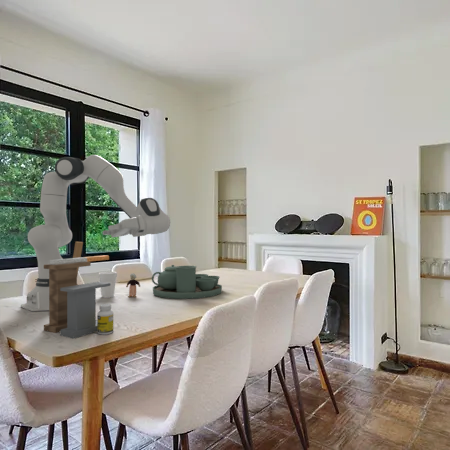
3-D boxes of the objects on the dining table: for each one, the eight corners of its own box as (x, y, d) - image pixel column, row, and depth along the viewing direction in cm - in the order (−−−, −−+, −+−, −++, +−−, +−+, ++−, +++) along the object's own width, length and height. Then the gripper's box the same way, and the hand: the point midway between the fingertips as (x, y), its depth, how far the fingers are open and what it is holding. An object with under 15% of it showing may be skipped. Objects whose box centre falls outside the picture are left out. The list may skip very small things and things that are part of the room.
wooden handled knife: (49, 264, 131) (49, 260, 131) (103, 259, 152) (103, 255, 152) (54, 264, 129) (54, 260, 129) (108, 259, 151) (108, 255, 151)
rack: (60, 335, 124) (60, 287, 124) (97, 324, 138) (97, 281, 138) (73, 338, 121) (73, 289, 121) (110, 326, 135) (110, 283, 135)
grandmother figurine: (125, 297, 191) (125, 274, 191) (126, 296, 195) (126, 273, 195) (140, 297, 193) (140, 273, 193) (140, 295, 197) (140, 272, 197)
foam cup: (117, 297, 192) (117, 273, 192) (98, 298, 189) (98, 274, 189) (116, 294, 201) (116, 271, 201) (98, 295, 198) (98, 272, 198)
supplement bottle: (94, 334, 126) (93, 306, 126) (104, 329, 131) (104, 303, 131) (106, 335, 124) (106, 307, 124) (116, 331, 129) (116, 304, 129)
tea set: (235, 294, 201) (235, 264, 202) (171, 302, 179) (170, 269, 179) (200, 285, 234) (199, 260, 234) (141, 291, 212) (141, 263, 212)
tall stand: (43, 330, 131) (43, 264, 131) (78, 321, 144) (78, 261, 144) (55, 333, 127) (55, 265, 127) (90, 323, 140) (90, 261, 140)
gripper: (128, 225, 171) (98, 228, 164) (142, 214, 155) (110, 217, 147) (130, 238, 170) (101, 242, 163) (145, 228, 154) (113, 232, 146)
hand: (105, 230), depth 155 cm, fingers open, 8 cm apart
